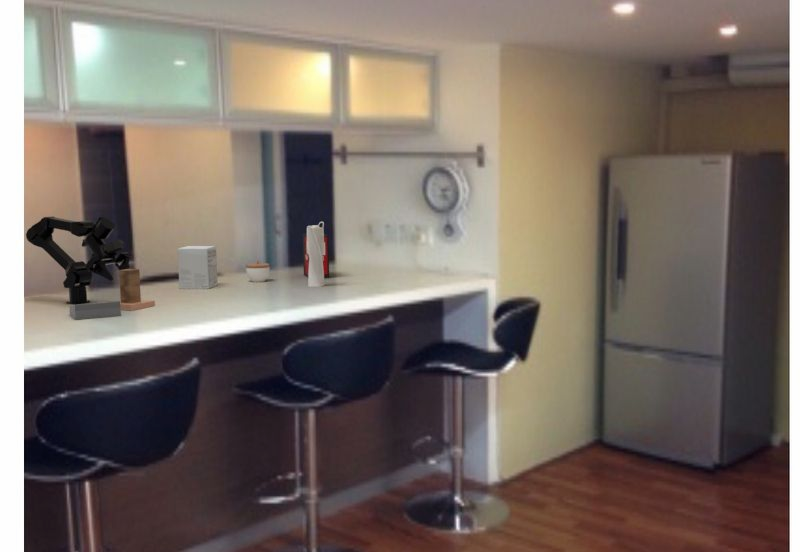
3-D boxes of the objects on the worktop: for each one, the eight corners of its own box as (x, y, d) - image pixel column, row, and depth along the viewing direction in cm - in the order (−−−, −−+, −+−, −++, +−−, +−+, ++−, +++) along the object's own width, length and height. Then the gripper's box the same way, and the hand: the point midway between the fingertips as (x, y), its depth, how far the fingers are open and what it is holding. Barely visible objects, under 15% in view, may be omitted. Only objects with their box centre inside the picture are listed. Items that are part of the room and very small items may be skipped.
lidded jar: (263, 283, 372) (262, 262, 371) (242, 282, 376) (241, 261, 374) (274, 280, 382) (273, 259, 381) (253, 279, 386) (253, 259, 384)
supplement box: (218, 284, 368) (217, 245, 365) (208, 289, 355) (207, 248, 352) (189, 284, 369) (187, 245, 367) (178, 289, 356) (176, 248, 354)
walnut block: (120, 302, 307) (119, 270, 305) (130, 300, 311) (129, 268, 310) (130, 303, 305) (129, 270, 303) (140, 301, 309) (139, 269, 307)
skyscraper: (328, 285, 363) (327, 221, 360) (322, 287, 356) (321, 222, 352) (311, 284, 365) (310, 221, 362) (305, 287, 358) (303, 222, 355)
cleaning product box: (329, 278, 387) (328, 235, 385) (310, 279, 384) (309, 236, 382) (321, 274, 403) (321, 233, 400) (303, 275, 400) (302, 233, 398)
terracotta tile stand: (107, 308, 306) (106, 303, 305) (131, 303, 316) (130, 298, 316) (131, 310, 300) (131, 305, 300) (154, 305, 311) (154, 300, 311)
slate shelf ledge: (69, 314, 293) (69, 300, 292) (113, 310, 300) (113, 297, 300) (75, 319, 283) (74, 305, 282) (120, 315, 290) (120, 301, 289)
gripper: (89, 234, 301) (113, 266, 297) (127, 231, 317) (150, 261, 314) (75, 255, 305) (98, 287, 302) (113, 250, 322) (135, 280, 318)
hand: (121, 278), depth 309 cm, fingers open, 9 cm apart
